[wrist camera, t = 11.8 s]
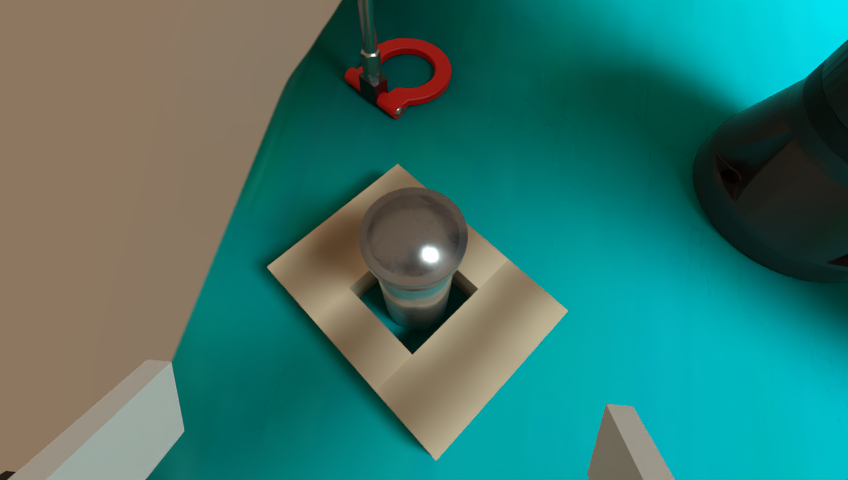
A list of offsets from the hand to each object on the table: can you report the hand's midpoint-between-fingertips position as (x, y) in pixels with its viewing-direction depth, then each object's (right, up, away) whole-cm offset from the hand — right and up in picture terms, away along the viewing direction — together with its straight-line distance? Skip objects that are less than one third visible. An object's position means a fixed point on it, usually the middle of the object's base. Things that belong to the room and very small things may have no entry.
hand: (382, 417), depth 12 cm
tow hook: (-1, +21, +27) cm, 34 cm away
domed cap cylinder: (+1, +1, +17) cm, 17 cm away
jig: (+1, +1, +17) cm, 17 cm away
